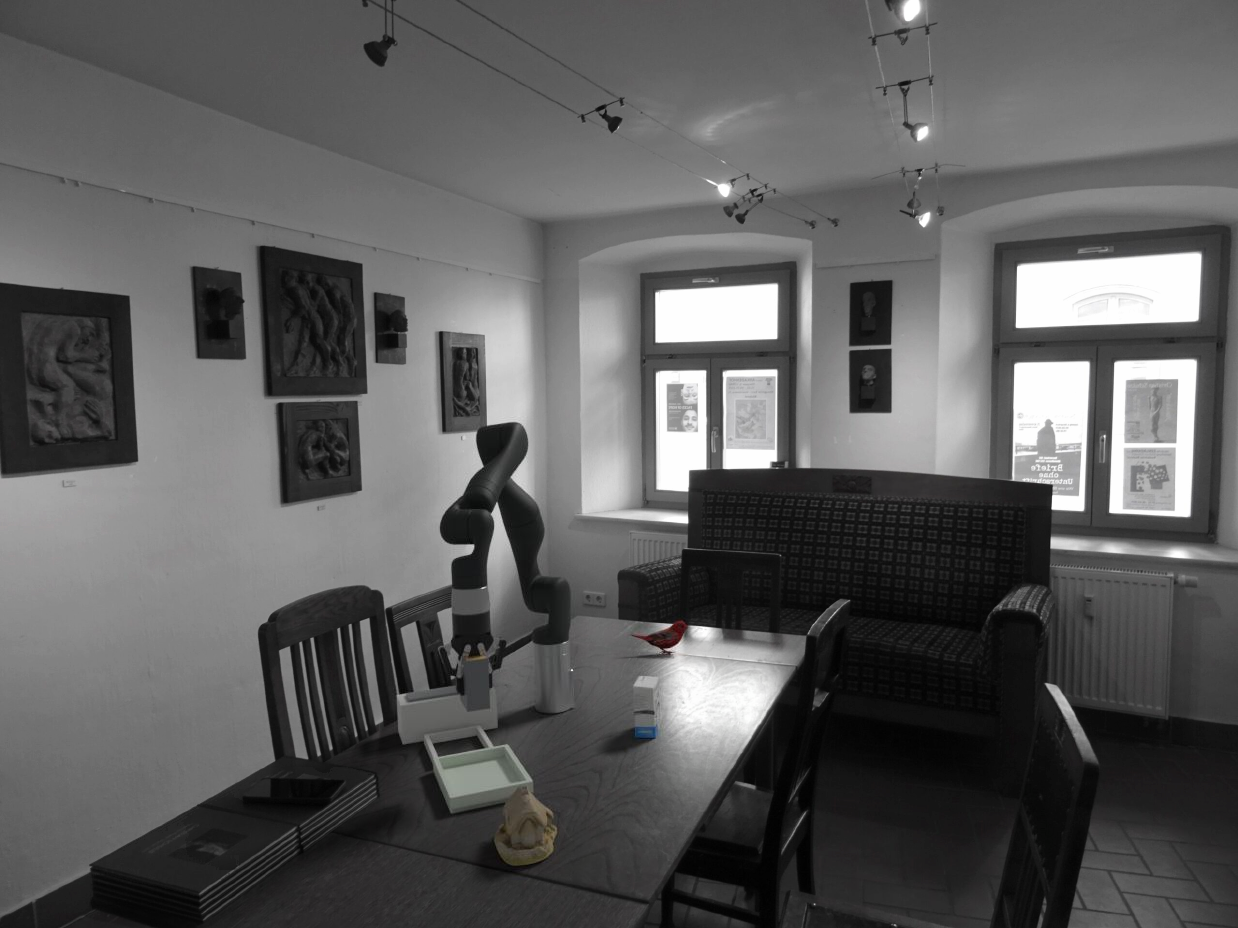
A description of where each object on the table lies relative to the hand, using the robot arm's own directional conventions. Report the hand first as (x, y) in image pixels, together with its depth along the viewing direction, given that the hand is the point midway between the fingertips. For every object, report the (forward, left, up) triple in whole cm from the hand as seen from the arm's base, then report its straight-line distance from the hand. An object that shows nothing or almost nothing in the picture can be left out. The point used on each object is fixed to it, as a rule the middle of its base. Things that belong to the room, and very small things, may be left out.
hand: (474, 692), depth 166 cm
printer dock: (+1, -23, -19) cm, 29 cm away
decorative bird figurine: (-69, -63, -19) cm, 96 cm away
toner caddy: (0, 0, -2) cm, 2 cm away
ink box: (-41, -9, -19) cm, 46 cm away
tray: (0, +1, -19) cm, 19 cm away
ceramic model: (-3, +27, -19) cm, 33 cm away
